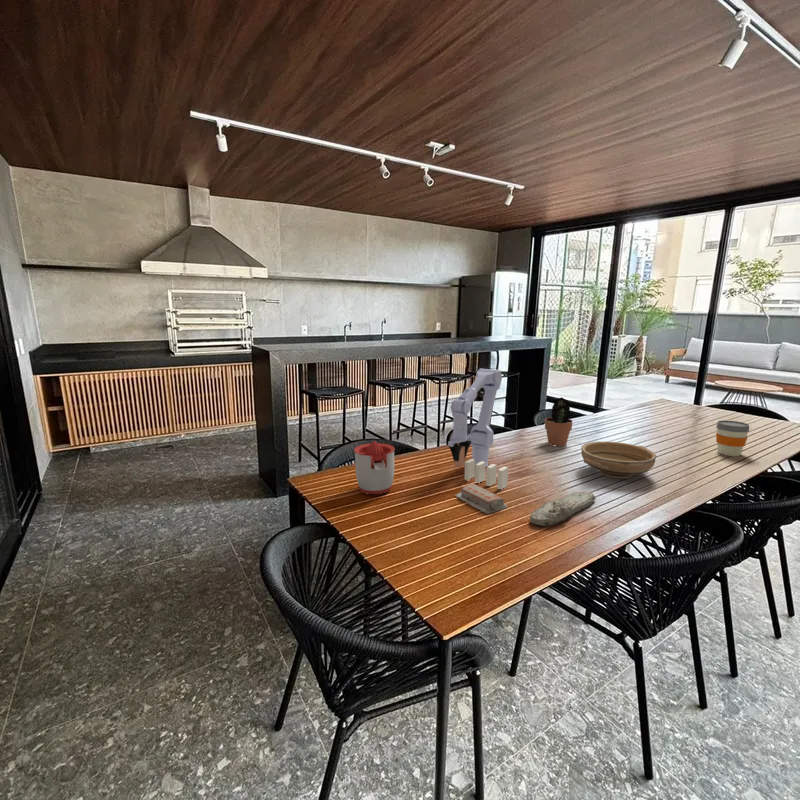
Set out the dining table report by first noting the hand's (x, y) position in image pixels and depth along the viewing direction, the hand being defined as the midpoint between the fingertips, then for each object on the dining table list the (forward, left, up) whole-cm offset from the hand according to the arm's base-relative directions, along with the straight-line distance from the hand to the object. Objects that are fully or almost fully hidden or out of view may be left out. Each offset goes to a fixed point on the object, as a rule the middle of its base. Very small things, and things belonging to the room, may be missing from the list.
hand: (459, 459), depth 181 cm
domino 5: (+10, +17, -8) cm, 21 cm away
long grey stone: (+28, +37, -8) cm, 47 cm away
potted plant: (-55, +49, -8) cm, 74 cm away
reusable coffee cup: (-51, +128, -8) cm, 138 cm away
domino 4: (+7, +13, -8) cm, 17 cm away
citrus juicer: (+21, -31, -8) cm, 38 cm away
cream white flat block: (+2, +4, -8) cm, 9 cm away
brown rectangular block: (0, 0, -3) cm, 3 cm away
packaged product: (+25, +9, -8) cm, 27 cm away
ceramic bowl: (-14, +66, -8) cm, 68 cm away
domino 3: (+5, +9, -8) cm, 13 cm away
